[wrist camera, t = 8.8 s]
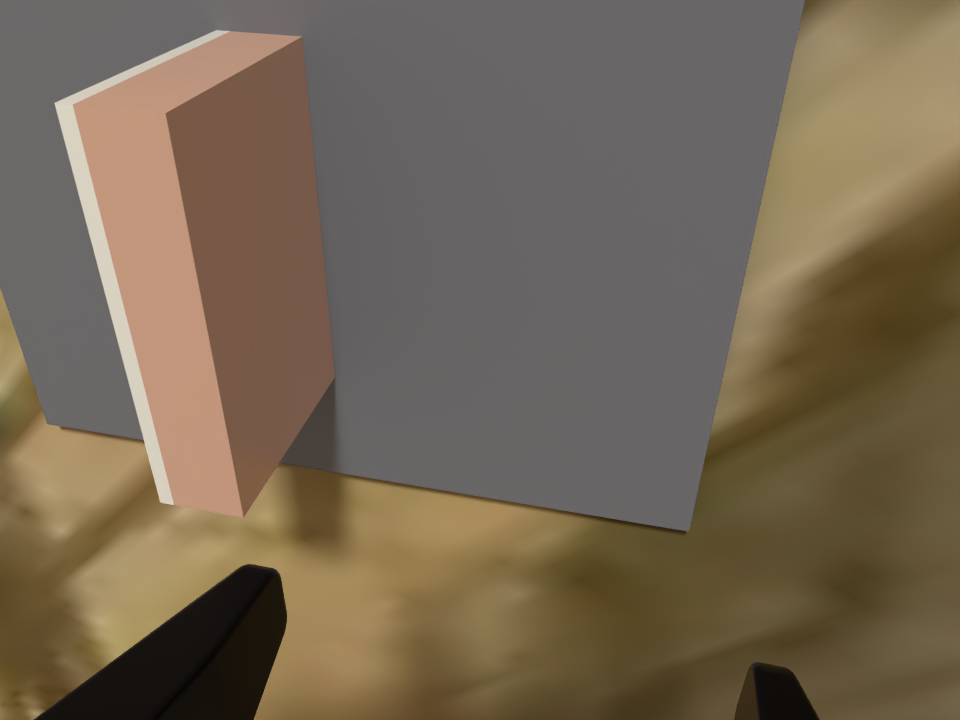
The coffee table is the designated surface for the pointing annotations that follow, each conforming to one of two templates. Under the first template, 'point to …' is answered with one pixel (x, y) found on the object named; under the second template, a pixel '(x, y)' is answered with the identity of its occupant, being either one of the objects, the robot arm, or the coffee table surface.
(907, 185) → the coffee table surface
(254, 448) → the tile
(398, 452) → the mat
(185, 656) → the robot arm
